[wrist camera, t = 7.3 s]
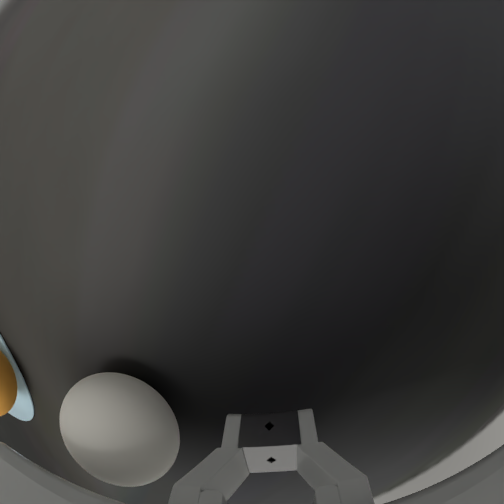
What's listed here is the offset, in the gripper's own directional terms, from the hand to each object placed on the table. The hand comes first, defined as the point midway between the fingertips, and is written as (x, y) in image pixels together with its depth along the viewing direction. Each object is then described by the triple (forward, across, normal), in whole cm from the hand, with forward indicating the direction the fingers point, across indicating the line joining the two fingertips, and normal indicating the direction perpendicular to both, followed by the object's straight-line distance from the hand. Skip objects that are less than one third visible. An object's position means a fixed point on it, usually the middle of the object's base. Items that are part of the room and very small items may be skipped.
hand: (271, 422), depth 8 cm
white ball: (-1, +6, 0) cm, 6 cm away
